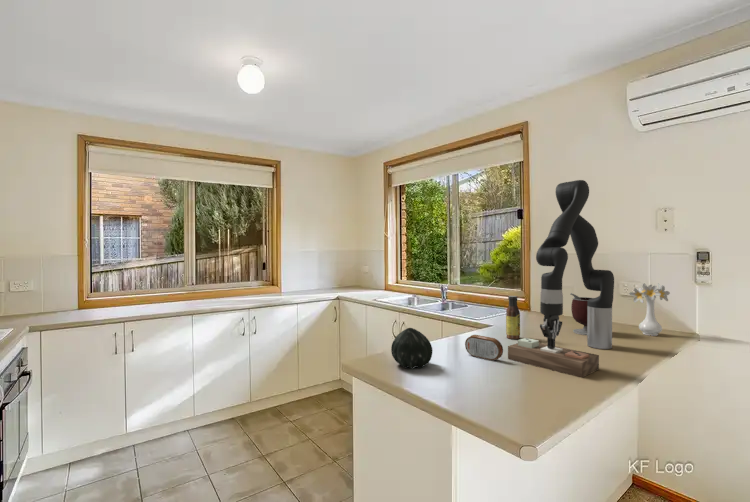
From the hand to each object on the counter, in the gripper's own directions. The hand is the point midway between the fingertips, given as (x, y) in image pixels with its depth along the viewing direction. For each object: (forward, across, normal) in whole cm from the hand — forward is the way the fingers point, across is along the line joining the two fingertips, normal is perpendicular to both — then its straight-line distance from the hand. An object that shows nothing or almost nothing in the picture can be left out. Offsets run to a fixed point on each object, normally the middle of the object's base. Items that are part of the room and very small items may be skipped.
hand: (551, 348), depth 140 cm
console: (+6, 0, 0) cm, 6 cm away
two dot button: (+2, 0, -9) cm, 9 cm away
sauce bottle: (+6, -25, -30) cm, 40 cm away
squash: (+6, +41, -31) cm, 52 cm away
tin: (+6, +13, -20) cm, 25 cm away
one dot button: (+4, 0, 0) cm, 4 cm away
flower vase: (+6, -83, +8) cm, 84 cm away
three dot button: (+4, 0, +9) cm, 10 cm away
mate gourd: (+6, -63, -14) cm, 65 cm away
